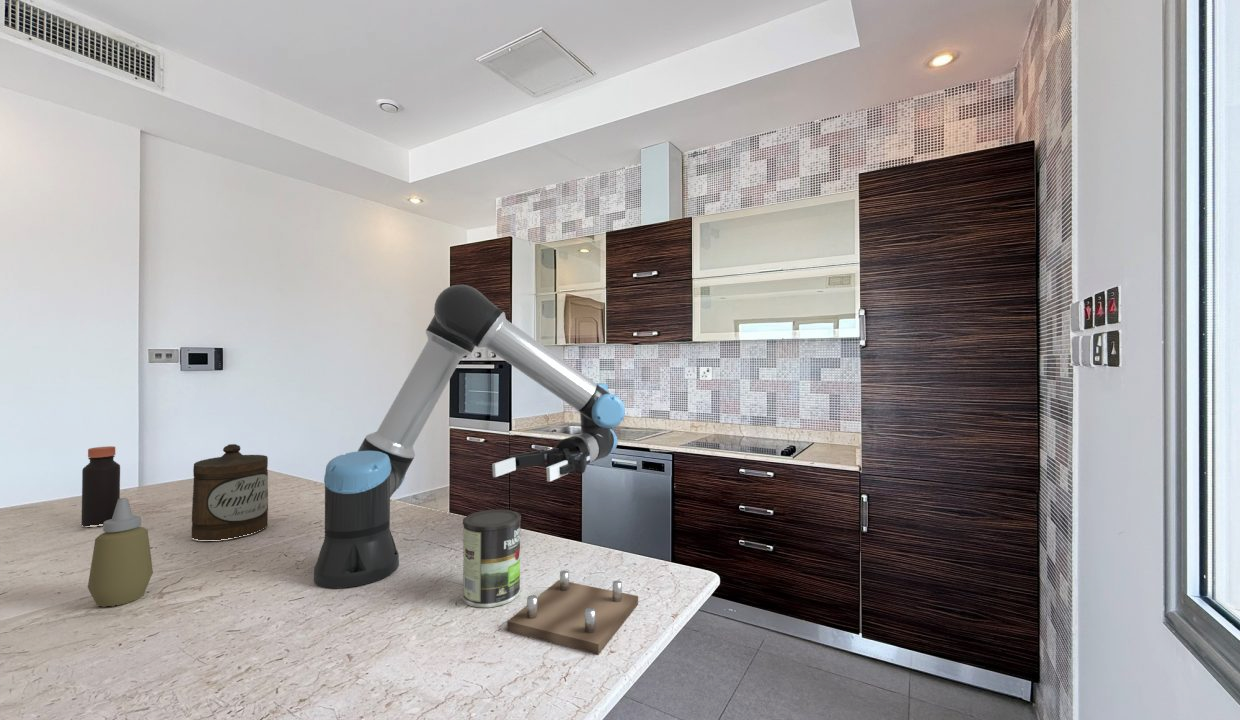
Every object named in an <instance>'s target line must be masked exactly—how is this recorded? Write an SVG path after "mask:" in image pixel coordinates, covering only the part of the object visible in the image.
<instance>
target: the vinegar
mask: <svg viewBox="0 0 1240 720" xmlns="http://www.w3.org/2000/svg"><path fill="white" fill-rule="evenodd" d="M115 457H116V446H98V447H91V448H88V449H87V458H88V460H89V463H88V464H87V465H85V466H84V467H83V468H82V472H81V473H82V475H81V476H82V477H81V478H82V480H81V481H82V482H81V526H82V525H83V526H90V525H99V524H103V523H104V522H105V521H107V520H109V519H112V517H113V514H114V511H115V508H116V504H117V501H118V499H121V498H120V497H121V493H120V492H121V465H120V464H119V463H118V462H116V461H115V460H114V458H115Z"/></svg>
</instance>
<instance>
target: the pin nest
mask: <svg viewBox="0 0 1240 720" xmlns="http://www.w3.org/2000/svg"><path fill="white" fill-rule="evenodd" d="M622 589H623V582H622V581H621V580H619V579H618V580H613V581H612V590H609V589H605V588H601V587H595V586H591V585H585V584H580V583H576V582H575V583H574V582H570V571H569V570H567V569H566V570H561V571H559V579H558V580H557V581H556V582H554V583H553V584H552V585H550V586H549V587H548V588H547V589H546V590H544V591H543V592H542V593H541V594H540V595H538V596H537V595H534V594H532V595H528V596H527V597H526V598H527V599H526V601H527V602H526V605H525V606H524V607H523V608H522V609H521V610H519V611H518V612H517V613H516V614H514V615H513V616H512V617H510V619H507V621H506V623H507V624H506V625H507V626H506V627H507V628H506V629H507V630H506V631H507V632H512V633H514V634H517V635H522V636H525V637H526V636H527V637H529V638H534V639H538V640H542V641H545V642H549V643H553V644H557V645H560V646H564V647H568V648H572V649H576V650H579V651H583V652H588V653H589V654H590V653H591V654H593V655H594V654H595V655H600V653H601V652H602V651H603V650H604V648H605V647H606V646H607V645H608V643H610V641H611V640H612V639H613V637H614V636H615V634H616V633H617V632H618V631H619V630H620V628H621V627H622V626H623V625H624V623H625V622H626V620H627V619H628V618H629V616H631V614H632V613H633V612H634V610H635V609H636V608H637V606H638V605H639V596H638V595H635V594H631V593H630V594H629V593H624V592H622V591H623V590H622Z"/></svg>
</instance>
